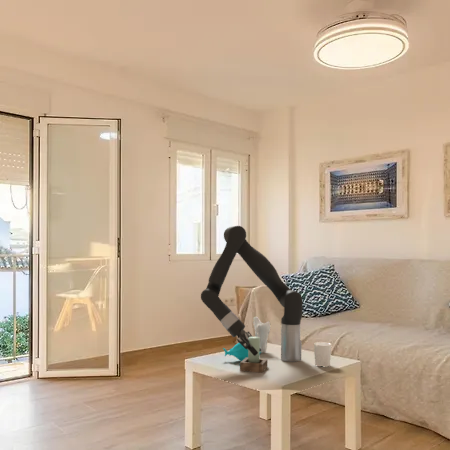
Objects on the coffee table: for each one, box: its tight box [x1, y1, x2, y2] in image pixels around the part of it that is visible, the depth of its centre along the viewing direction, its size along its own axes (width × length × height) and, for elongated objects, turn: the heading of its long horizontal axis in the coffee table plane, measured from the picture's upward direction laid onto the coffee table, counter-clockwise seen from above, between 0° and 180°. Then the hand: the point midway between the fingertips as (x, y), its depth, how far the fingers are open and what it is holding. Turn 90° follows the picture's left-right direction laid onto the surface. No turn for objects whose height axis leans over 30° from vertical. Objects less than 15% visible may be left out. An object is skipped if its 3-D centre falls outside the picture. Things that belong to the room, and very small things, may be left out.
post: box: [248, 336, 261, 363], centre depth 213 cm, size 5×5×12 cm
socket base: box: [239, 357, 268, 373], centre depth 213 cm, size 10×10×4 cm
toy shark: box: [222, 342, 261, 362], centre depth 227 cm, size 10×18×11 cm, turn 88°
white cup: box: [313, 341, 332, 367], centre depth 221 cm, size 8×8×10 cm
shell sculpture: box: [252, 316, 271, 354], centre depth 247 cm, size 8×8×18 cm
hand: (257, 352), depth 213 cm, fingers open, 5 cm apart
